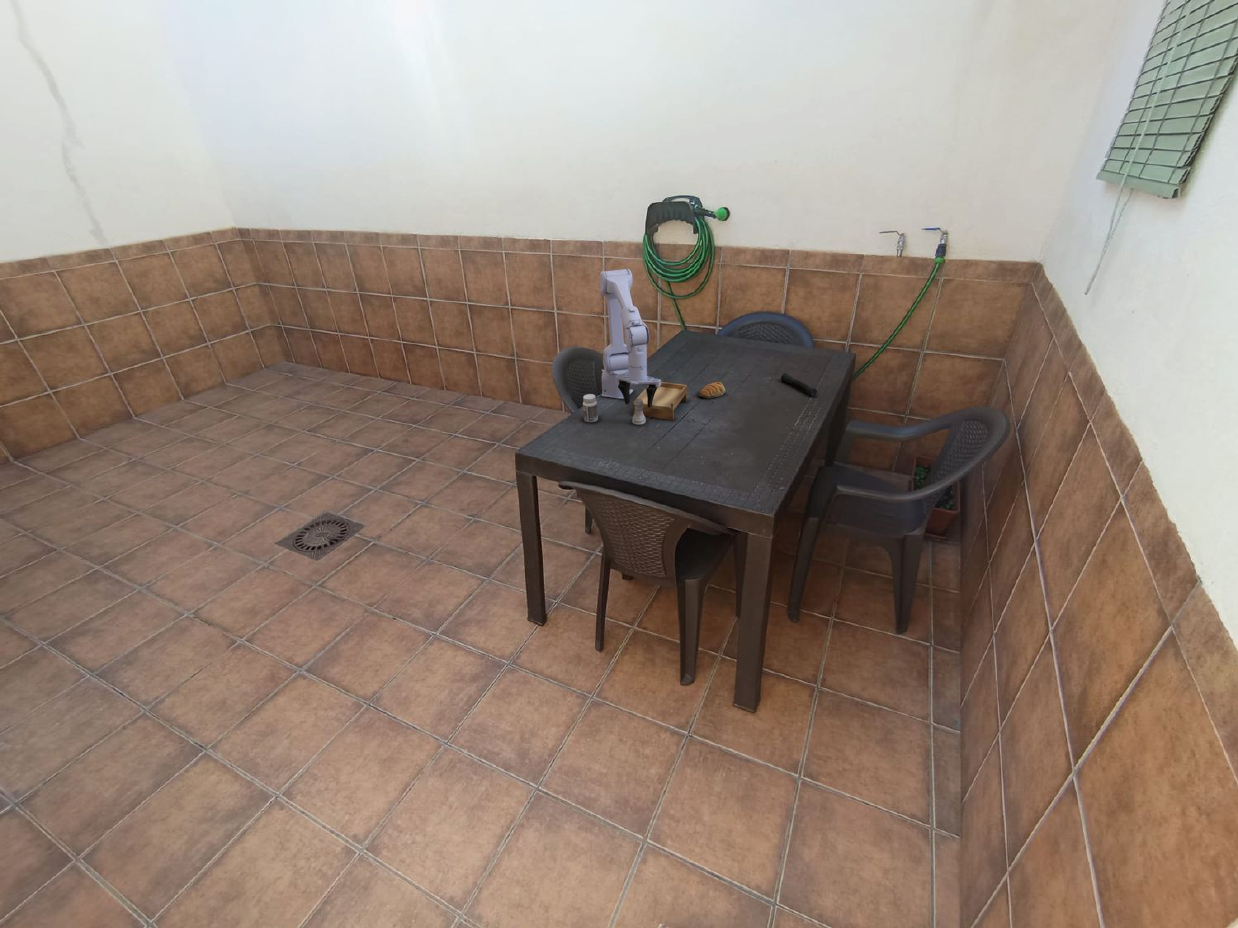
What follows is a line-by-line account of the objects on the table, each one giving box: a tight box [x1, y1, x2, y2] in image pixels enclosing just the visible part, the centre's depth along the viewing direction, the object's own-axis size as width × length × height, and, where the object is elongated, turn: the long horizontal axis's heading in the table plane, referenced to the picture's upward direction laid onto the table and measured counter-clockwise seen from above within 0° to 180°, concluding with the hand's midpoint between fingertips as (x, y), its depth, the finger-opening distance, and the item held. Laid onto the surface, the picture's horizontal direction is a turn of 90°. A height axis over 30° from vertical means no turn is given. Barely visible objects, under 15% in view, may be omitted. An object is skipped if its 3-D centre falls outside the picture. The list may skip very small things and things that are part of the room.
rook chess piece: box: [632, 398, 647, 426], centre depth 182 cm, size 4×4×8 cm
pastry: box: [699, 381, 726, 399], centre depth 199 cm, size 9×7×4 cm
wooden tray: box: [632, 381, 688, 421], centre depth 191 cm, size 14×16×6 cm
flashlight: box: [780, 372, 818, 397], centre depth 201 cm, size 3×16×3 cm, turn 23°
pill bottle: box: [582, 393, 599, 423], centre depth 185 cm, size 5×5×8 cm
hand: (638, 404), depth 180 cm, fingers open, 7 cm apart
